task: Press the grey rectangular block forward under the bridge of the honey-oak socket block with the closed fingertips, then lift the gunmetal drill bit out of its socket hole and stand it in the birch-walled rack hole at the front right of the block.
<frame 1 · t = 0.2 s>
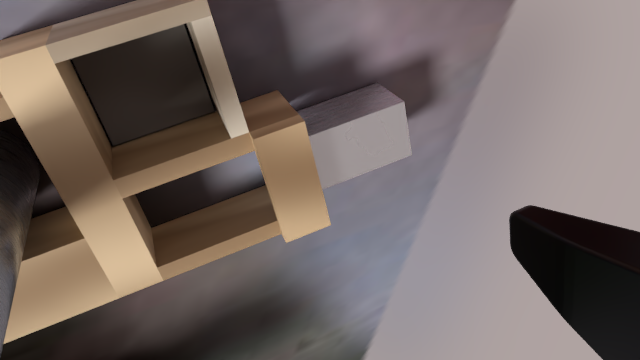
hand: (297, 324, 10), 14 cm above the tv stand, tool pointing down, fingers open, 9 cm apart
socket block: (97, 146, 21), on the tv stand
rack: (144, 78, 21), on the tv stand
grey rectangular block: (332, 141, 23), point 1 cm above the tv stand, slide at 0.0 cm
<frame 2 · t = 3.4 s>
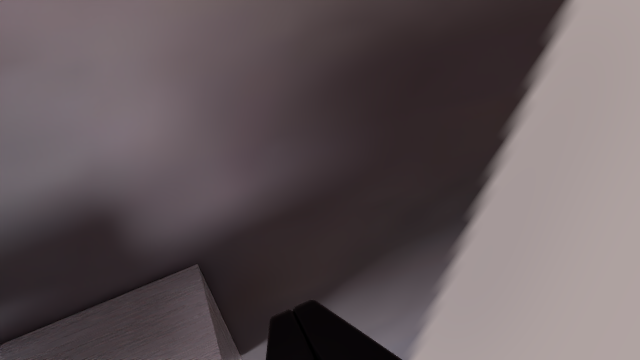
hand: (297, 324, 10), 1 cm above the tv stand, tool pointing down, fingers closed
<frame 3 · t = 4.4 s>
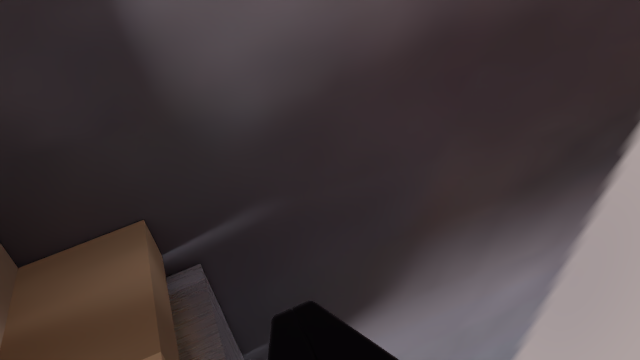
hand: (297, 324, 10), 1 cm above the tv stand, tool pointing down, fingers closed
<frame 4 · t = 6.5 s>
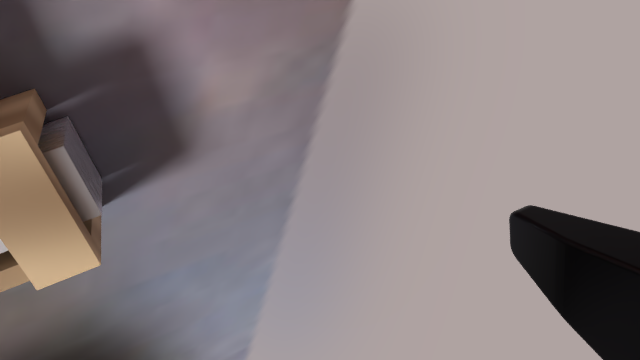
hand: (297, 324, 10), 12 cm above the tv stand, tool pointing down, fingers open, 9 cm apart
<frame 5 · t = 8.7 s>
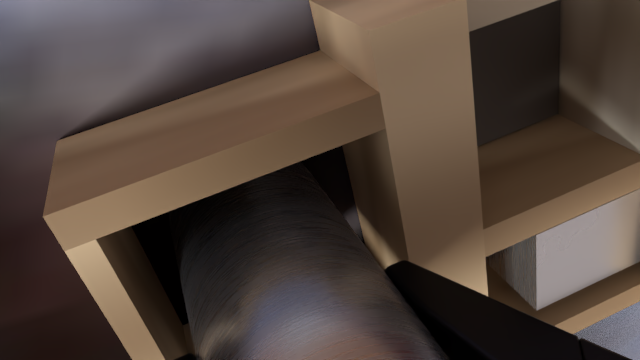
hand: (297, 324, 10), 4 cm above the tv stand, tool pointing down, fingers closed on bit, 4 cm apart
socket block: (397, 170, 14), on the tv stand
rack: (483, 64, 13), on the tv stand
grey rectangular block: (595, 205, 15), point 1 cm above the tv stand, slide at 4.0 cm
bit: (246, 211, 13), resting in socket block, touching gripper
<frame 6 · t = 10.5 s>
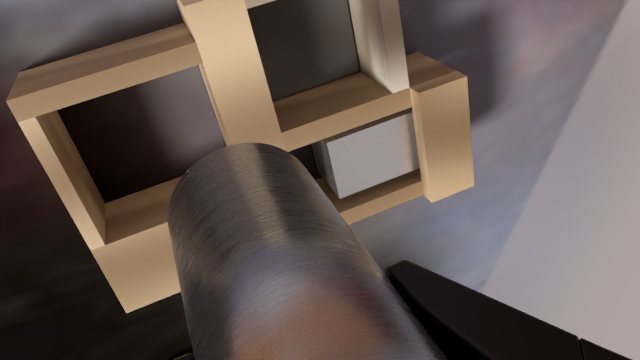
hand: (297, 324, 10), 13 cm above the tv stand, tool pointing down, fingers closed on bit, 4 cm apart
socket block: (247, 104, 21), on the tv stand
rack: (299, 35, 21), on the tv stand
grey rectangular block: (387, 133, 22), point 1 cm above the tv stand, slide at 4.0 cm
bit: (245, 212, 13), point 9 cm above the tv stand, touching gripper
when the fingers open (5 cm above the tv stand, at t = 12.5 s): bit drops 1 cm, resting on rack.
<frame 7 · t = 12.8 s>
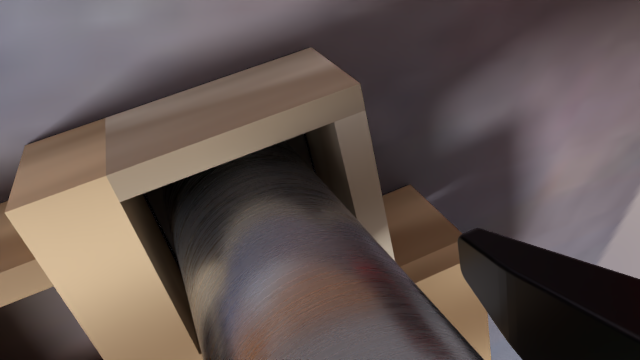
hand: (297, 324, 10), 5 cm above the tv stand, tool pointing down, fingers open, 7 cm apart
socket block: (163, 278, 15), on the tv stand
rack: (234, 183, 14), on the tv stand
bit: (235, 189, 14), resting on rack
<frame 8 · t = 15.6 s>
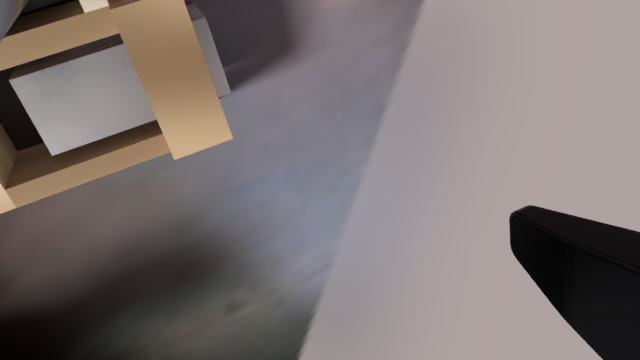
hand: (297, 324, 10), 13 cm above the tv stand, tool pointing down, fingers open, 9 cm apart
grey rectangular block: (126, 75, 18), point 1 cm above the tv stand, slide at 4.0 cm
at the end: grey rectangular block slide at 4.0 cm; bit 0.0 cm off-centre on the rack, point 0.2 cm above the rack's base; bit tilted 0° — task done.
